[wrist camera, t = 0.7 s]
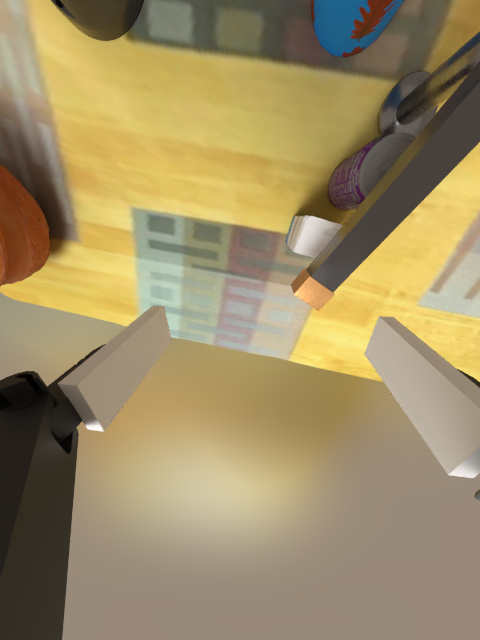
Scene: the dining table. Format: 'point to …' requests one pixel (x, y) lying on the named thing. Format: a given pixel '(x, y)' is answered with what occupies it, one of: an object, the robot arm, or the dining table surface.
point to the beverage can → (366, 169)
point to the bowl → (20, 231)
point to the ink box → (310, 234)
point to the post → (426, 92)
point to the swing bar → (397, 192)
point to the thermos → (351, 23)
